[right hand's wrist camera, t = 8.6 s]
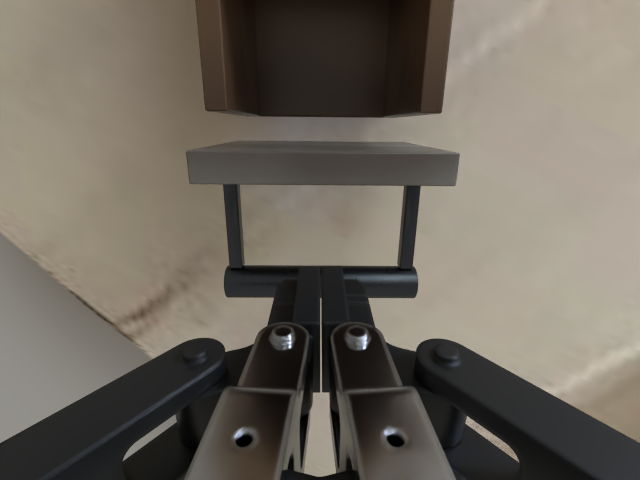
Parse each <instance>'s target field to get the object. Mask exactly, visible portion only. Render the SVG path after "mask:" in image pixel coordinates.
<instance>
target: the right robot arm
mask: <svg viewBox="0 0 640 480" xmlns="http://www.w3.org/2000/svg"><path fill="white" fill-rule="evenodd" d="M313 392H320V266H300V267H299V275H298V279H284V280H283V281H282V282H281V283H280V284H279V285H278V286H277V288H276V292H275V297H274V301H273V305H272V309H271V313H270V317H269V321H268V326H266V327H265V328H263V329H262V330H261V331H260V332H259V333H258V335H257V337H256V339H255V342H254V344H252V345H250V346H248V347H245V348H241V349H237V350H233V351H228V352H225V348H224V346H223V344H222V343H221V342H219V341H217V340H215V339H211V338H198V339H193V340H189V341H186V342H184V343H182V344H180V345H178V346H176V347H174V348H172V349H171V350H169V351H167V352H165V353H163V354H161V355H160V356H158V357H156V358H154V359H152V360H151V361H149V362H147V363H145V364H143V365H141V366H140V367H138V368H136V369H134V370H132V371H131V372H129V373H127V374H125V375H123V376H121V377H120V378H118V379H116V380H114V381H112V382H111V383H109V384H107V385H105V386H103V387H102V388H100V389H98V390H96V391H94V392H92V393H91V394H89V395H87V396H85V397H83V398H82V399H80V400H78V401H76V402H74V403H73V404H71V405H69V406H67V407H65V408H63V409H62V410H60V411H58V412H56V413H54V414H52V415H51V416H49V417H47V418H45V419H43V420H42V421H40V422H38V423H36V424H34V425H33V426H31V427H29V428H27V429H25V430H24V431H22V432H20V433H18V434H16V435H14V436H13V437H11V438H9V439H7V440H5V441H3V442H2V443H0V480H640V443H638V442H637V441H635V440H633V439H631V438H629V437H627V436H626V435H624V434H622V433H620V432H618V431H617V430H615V429H613V428H611V427H609V426H608V425H606V424H604V423H602V422H600V421H598V420H597V419H595V418H593V417H591V416H589V415H588V414H586V413H584V412H582V411H580V410H578V409H577V408H575V407H573V406H571V405H569V404H568V403H566V402H564V401H562V400H560V399H558V398H557V397H555V396H553V395H551V394H549V393H548V392H546V391H544V390H542V389H540V388H539V387H537V386H535V385H533V384H531V383H529V382H528V381H526V380H524V379H522V378H520V377H519V376H517V375H515V374H513V373H511V372H509V371H508V370H506V369H504V368H502V367H500V366H499V365H497V364H495V363H493V362H491V361H489V360H488V359H486V358H484V357H482V356H480V355H479V354H477V353H475V352H473V351H471V350H470V349H468V348H466V347H464V346H462V345H460V344H458V343H456V342H453V341H450V340H445V339H429V340H426V341H423V342H422V343H420V344H419V345H418V347H417V349H416V352H415V351H410V350H406V349H402V348H398V347H395V346H392V345H390V344H388V343H387V342H385V339H384V337H383V335H382V333H381V332H380V331H379V330H378V329H377V328H375V325H374V321H373V317H372V313H371V309H370V305H369V301H368V297H367V293H366V289H365V286H364V285H363V284H362V283H361V282H360V281H359V280H357V279H344V276H343V269H342V266H322V392H330V425H331V433H332V441H333V449H334V458H335V466H336V474H332V475H328V476H324V477H316V476H312V475H308V474H304V466H305V458H306V449H307V441H308V433H309V425H310V409H311V407H312V402H313ZM175 414H176V419H177V422H176V423H175V424H174V425H172V426H171V427H170V428H168V429H167V430H165V431H164V432H163V433H161V434H160V435H159V436H157V437H156V438H154V439H153V440H152V441H150V442H149V443H148V444H146V445H145V446H143V447H142V448H141V449H139V450H138V451H137V452H135V453H134V454H132V455H131V456H130V457H128V458H127V459H126V460H124V461H123V458H124V456H125V454H126V452H127V451H128V449H129V448H130V447H131V446H132V445H133V444H134V443H135V442H136V441H138V440H139V439H140V438H142V437H143V436H145V435H146V434H148V433H149V432H150V431H152V430H153V429H155V428H156V427H158V426H159V425H160V424H162V423H163V422H165V421H166V420H168V419H169V418H170V417H172V416H173V415H175ZM467 416H468V417H470V418H471V419H472V420H474V421H475V422H477V423H478V424H480V425H481V426H482V427H484V428H485V429H487V430H488V431H490V432H491V433H492V434H494V435H495V436H497V437H498V438H499V439H501V440H502V441H504V442H505V443H506V444H508V445H509V446H510V447H511V448H512V450H513V451H514V452H515V454H516V455H517V457H518V459H519V462H520V463H519V462H517V461H516V460H515V459H513V458H512V457H510V456H509V455H508V454H506V453H505V452H504V451H502V450H501V449H499V448H498V447H497V446H495V445H494V444H492V443H491V442H490V441H488V440H487V439H486V438H484V437H483V436H481V435H480V434H479V433H477V432H476V431H475V430H473V429H472V428H470V427H469V426H468V425H466V424H465V422H466V418H467ZM122 461H123V462H122Z"/></svg>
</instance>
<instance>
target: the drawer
mask: <svg viewBox="0 0 640 480" xmlns="http://www.w3.org/2000/svg"><path fill="white" fill-rule="evenodd" d="M453 7H454V0H196V11H197V22H198V33H199V45H200V56H201V67H202V78H203V90H204V101H205V109H206V111H210V112H218V113H226V114H234V115H242V116H261V117H363V118H397V117H407V116H418V115H428V114H439V113H441V112H442V105H443V96H444V88H445V79H446V70H447V61H448V52H449V43H450V34H451V25H452V16H453ZM186 156H187V165H188V174H189V183H190V184H223V188H224V201H225V214H226V227H227V239H228V252H229V266H227V268H226V271H225V276H224V291H225V295H226V297H254V298H274V297H275V292H276V288H277V286H278V285H279V284H280V283H281V282H282V281H283V280H284V279H298V275H299V267H300V266H268V265H244V264H245V262H244V247H243V231H242V215H241V200H240V184H251V185H386V186H404V193H403V205H402V216H401V228H400V240H399V252H398V263H397V264H398V266H342V269H343V276H344V279H357V280H359V281H360V282H361V283H362V284H363V285H364V286H365V289H366V293H367V297H368V298H415V297H416V295H417V291H418V276H417V272H416V269H415V267H413V257H414V247H415V237H416V227H417V217H418V207H419V197H420V187H421V186H455V185H456V179H457V171H458V164H459V156H460V154H459V153H456V152H451V151H446V150H441V149H435V148H430V147H425V146H420V145H415V144H410V143H405V142H332V141H234V142H229V143H224V144H219V145H214V146H209V147H204V148H199V149H194V150H188V151H186ZM320 298H322V266H320Z"/></svg>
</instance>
